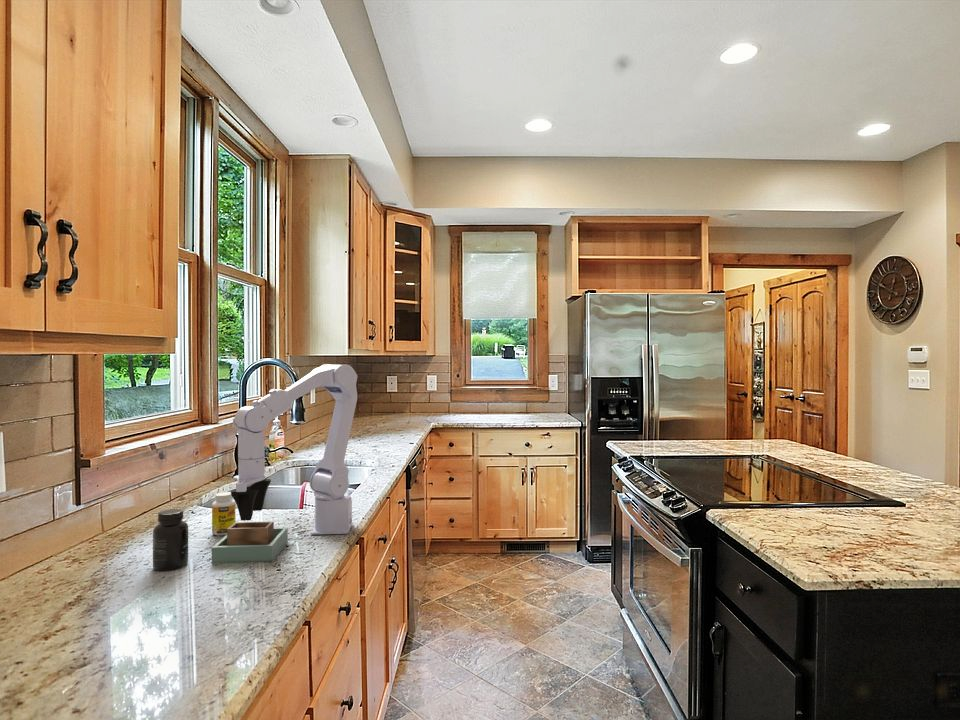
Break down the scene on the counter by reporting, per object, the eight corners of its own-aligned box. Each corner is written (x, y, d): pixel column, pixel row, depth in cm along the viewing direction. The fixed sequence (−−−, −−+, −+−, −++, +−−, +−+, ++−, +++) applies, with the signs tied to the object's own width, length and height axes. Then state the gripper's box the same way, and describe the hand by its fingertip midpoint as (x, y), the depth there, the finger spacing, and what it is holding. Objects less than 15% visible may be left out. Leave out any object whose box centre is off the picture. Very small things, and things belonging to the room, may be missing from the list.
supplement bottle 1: (193, 565, 119) (193, 511, 119) (158, 574, 114) (158, 518, 114) (182, 557, 124) (182, 505, 124) (148, 566, 119) (148, 511, 119)
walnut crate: (273, 546, 130) (273, 521, 130) (267, 553, 125) (267, 528, 125) (235, 547, 129) (235, 522, 129) (227, 555, 124) (227, 529, 124)
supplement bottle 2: (216, 538, 137) (216, 497, 137) (209, 532, 141) (208, 493, 141) (238, 533, 141) (238, 493, 141) (231, 528, 145) (231, 490, 145)
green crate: (287, 543, 134) (287, 527, 134) (271, 563, 121) (271, 545, 121) (233, 545, 133) (233, 528, 133) (211, 565, 120) (211, 547, 120)
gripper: (244, 452, 134) (245, 506, 134) (221, 463, 119) (222, 525, 120) (274, 451, 134) (274, 506, 135) (254, 463, 120) (255, 524, 120)
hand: (251, 515), depth 127 cm, fingers open, 7 cm apart
